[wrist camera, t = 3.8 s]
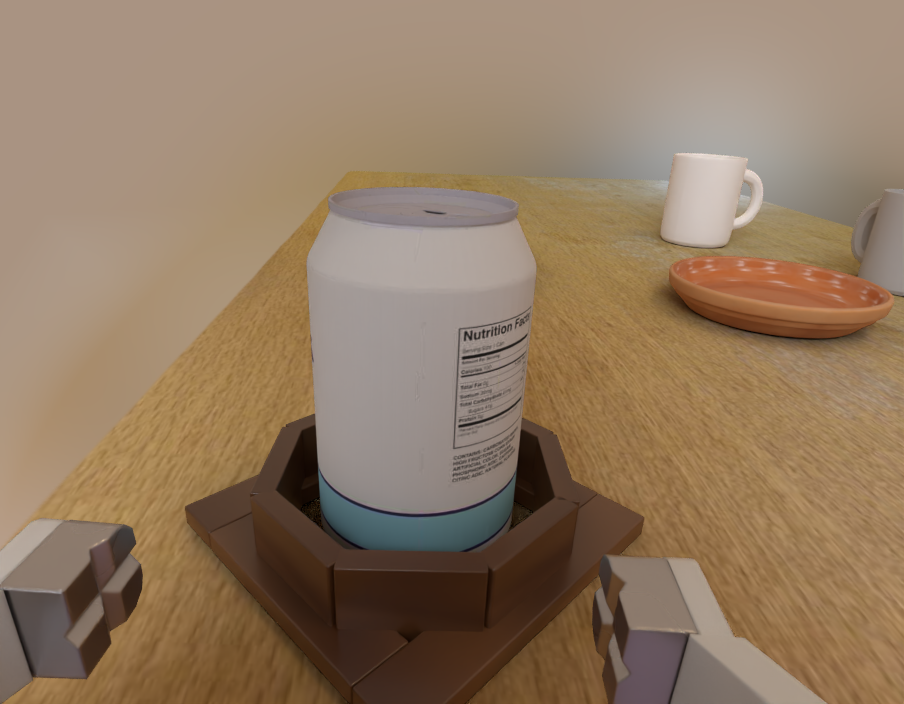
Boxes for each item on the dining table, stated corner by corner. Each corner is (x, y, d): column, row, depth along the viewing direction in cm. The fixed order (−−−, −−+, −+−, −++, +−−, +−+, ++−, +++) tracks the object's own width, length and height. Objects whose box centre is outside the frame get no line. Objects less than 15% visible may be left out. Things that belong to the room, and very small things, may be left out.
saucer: (624, 296, 51) (629, 262, 50) (741, 278, 58) (749, 248, 57) (802, 365, 38) (815, 321, 37) (923, 331, 45) (938, 294, 44)
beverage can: (379, 459, 26) (377, 179, 21) (530, 500, 24) (565, 197, 19) (282, 561, 20) (249, 203, 15) (471, 629, 18) (500, 233, 13)
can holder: (402, 765, 14) (404, 676, 13) (186, 523, 22) (175, 454, 20) (641, 533, 22) (655, 466, 21) (423, 416, 30) (424, 362, 28)
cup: (905, 300, 53) (941, 200, 50) (815, 271, 62) (841, 184, 58) (964, 297, 55) (1002, 200, 51) (869, 270, 64) (896, 185, 60)
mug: (734, 236, 79) (753, 155, 75) (770, 250, 71) (793, 161, 67) (648, 233, 78) (662, 151, 74) (675, 248, 70) (693, 157, 66)
